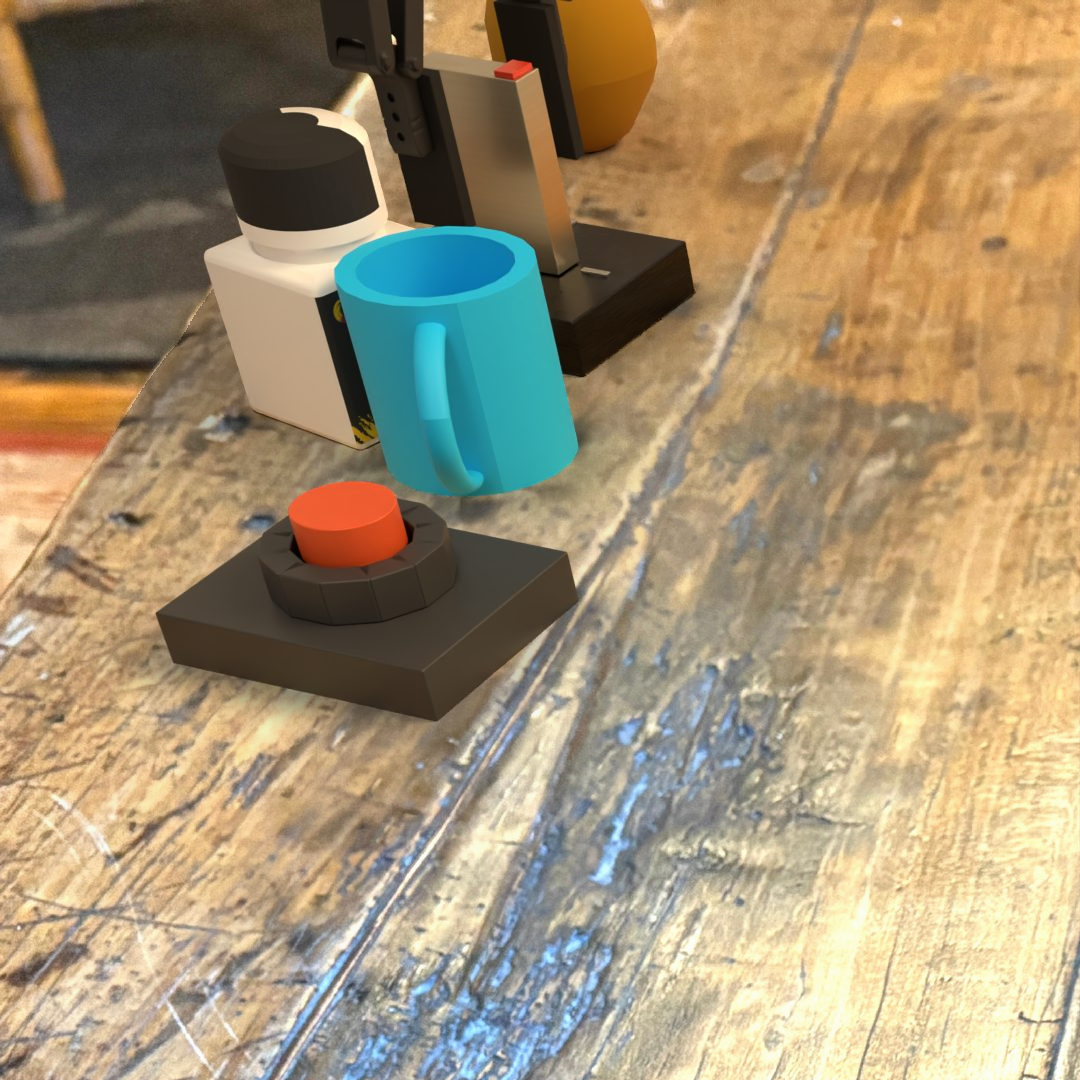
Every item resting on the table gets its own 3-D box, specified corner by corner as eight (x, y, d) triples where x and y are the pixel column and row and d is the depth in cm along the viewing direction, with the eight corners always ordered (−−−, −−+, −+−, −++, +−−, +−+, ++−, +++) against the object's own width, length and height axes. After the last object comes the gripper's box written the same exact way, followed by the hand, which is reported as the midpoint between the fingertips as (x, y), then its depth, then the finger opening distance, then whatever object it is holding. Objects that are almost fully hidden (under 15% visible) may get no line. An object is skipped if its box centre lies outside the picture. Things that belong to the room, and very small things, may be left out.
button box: (172, 664, 103) (138, 568, 100) (327, 549, 110) (299, 456, 107) (437, 723, 101) (409, 627, 98) (580, 601, 107) (557, 508, 104)
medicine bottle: (361, 454, 116) (279, 169, 107) (248, 412, 118) (159, 130, 109) (482, 395, 120) (413, 116, 111) (371, 355, 122) (295, 79, 114)
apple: (708, 134, 142) (676, -47, 136) (590, 183, 137) (551, -3, 131) (595, 99, 145) (559, -80, 139) (476, 145, 140) (433, -38, 134)
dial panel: (360, 334, 124) (344, 277, 122) (481, 254, 131) (468, 199, 129) (584, 377, 121) (571, 319, 120) (696, 293, 128) (685, 237, 126)
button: (279, 561, 102) (265, 518, 100) (342, 515, 104) (329, 473, 103) (368, 580, 101) (355, 537, 100) (429, 533, 104) (417, 491, 102)
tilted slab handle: (457, 257, 124) (407, 58, 118) (478, 243, 125) (431, 44, 119) (559, 275, 123) (514, 75, 117) (579, 261, 124) (537, 61, 118)
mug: (399, 416, 118) (347, 229, 112) (586, 408, 119) (545, 222, 113) (362, 545, 110) (305, 351, 104) (564, 535, 111) (518, 342, 105)
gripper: (282, -331, 98) (439, 288, 114) (591, -447, 112) (691, 120, 128) (112, -353, 99) (291, 261, 116) (437, -464, 113) (556, 98, 130)
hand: (501, 187), depth 122 cm, fingers open, 8 cm apart
